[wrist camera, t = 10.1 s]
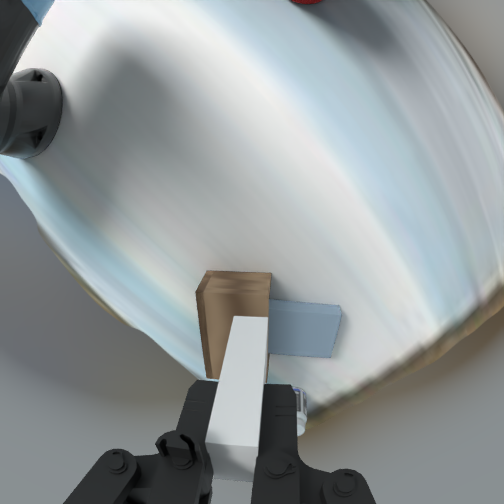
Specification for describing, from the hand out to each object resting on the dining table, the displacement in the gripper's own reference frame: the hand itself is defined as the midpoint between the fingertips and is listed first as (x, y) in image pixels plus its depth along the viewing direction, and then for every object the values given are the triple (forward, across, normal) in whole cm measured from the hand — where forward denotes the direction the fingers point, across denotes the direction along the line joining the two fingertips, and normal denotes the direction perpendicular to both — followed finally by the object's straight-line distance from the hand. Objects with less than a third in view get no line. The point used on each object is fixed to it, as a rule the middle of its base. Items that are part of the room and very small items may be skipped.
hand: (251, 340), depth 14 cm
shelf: (+27, -4, -18) cm, 33 cm away
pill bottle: (+27, +5, -35) cm, 44 cm away
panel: (+27, +3, -19) cm, 33 cm away
